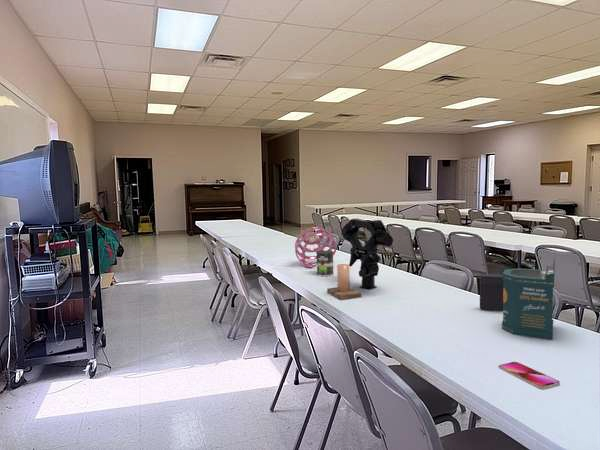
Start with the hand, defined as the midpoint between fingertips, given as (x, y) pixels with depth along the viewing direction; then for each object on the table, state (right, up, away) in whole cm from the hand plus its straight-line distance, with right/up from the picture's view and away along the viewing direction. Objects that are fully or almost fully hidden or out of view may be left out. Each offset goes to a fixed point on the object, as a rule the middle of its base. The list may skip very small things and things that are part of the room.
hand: (355, 267), depth 205 cm
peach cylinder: (-6, -12, +1) cm, 13 cm away
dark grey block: (+55, -15, -30) cm, 64 cm away
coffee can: (-12, -9, +48) cm, 51 cm away
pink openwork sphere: (-16, -7, +75) cm, 77 cm away
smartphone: (+37, -22, -88) cm, 98 cm away
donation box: (+56, -17, -53) cm, 79 cm away
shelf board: (-6, -14, +2) cm, 15 cm away
